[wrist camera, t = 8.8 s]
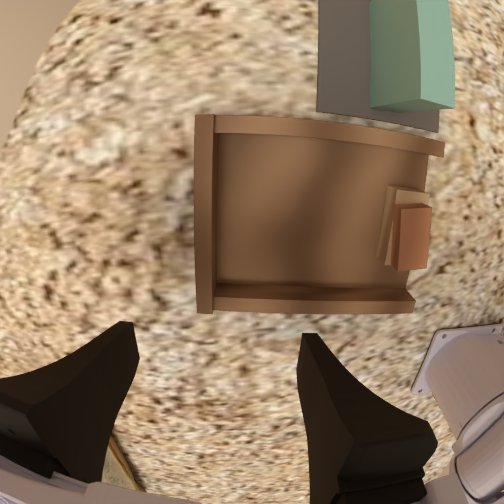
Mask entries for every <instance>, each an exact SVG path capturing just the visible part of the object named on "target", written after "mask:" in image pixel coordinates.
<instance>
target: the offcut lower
mask: <svg viewBox="0 0 504 504" xmlns="http://www.w3.org/2000/svg"><path fill="white" fill-rule="evenodd" d="M429 196H430V194H429V193H427V192H424V191H422V190H419V189H414V188H406V187H399V186H391V185H387V191H386V199H385V207H384V214H383V220H382V227H381V233H380V239H379V245H378V251H377V257H378V258H379V259H380V260H381V262H382V263H383V264H384V265H391V251H392V232H393V205H394V204H415V203H423V204H426V205H428V202H429Z"/></svg>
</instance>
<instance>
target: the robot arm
mask: <svg viewBox="0 0 504 504" xmlns="http://www.w3.org/2000/svg"><path fill="white" fill-rule="evenodd" d="M502 328H503V326H502V325H501V324H494V325H486V326H477V327H467V328H457V329H445V330H439V331H437V332H436V333H435V335H434V338H433V340H432V343H431V345H430V348H429V350H428V353H427V355H426V358H425V360H424V362H423V365H422V367H421V369H420V372H419V374H418V376H417V378H416V381H415V383H414V385H413V387H412V389H411V393H412V394H413V395H416V394H423V393H429V392H432V394H433V396H434V398H435V400H436V401H437V403H438V405H439V407H440V409H441V411H442V413H443V415H444V417H445V418H446V420H447V422H448V424H449V426H450V428H451V430H452V432H453V434H454V436H455V438H456V440H457V441H456V443H455V444H454V445H453V446H452V449H453V451H454V453H455V456H454V457H453V458H452V459H451V461H450V466H449V475H446V476H443V477H440V478H437V479H434V480H431V481H429V482H428V483H426V484H425V485H424V483H423V480H422V478H423V477H424V476H425V472H424V470H423V466H424V465H425V464H426V462H427V461H428V460H429V459H430V457H431V456H432V455H433V453H434V452H435V450H436V448H437V445H438V442H437V439H436V437H435V435H434V432H433V430H432V428H431V426H430V424H429V423H428V421H426V420H423V419H421V418H418V417H416V416H413V415H411V414H408V413H406V412H404V411H402V410H400V409H399V408H397V407H395V406H393V405H391V404H390V403H388V402H386V401H385V400H383V399H382V398H380V397H379V396H377V395H376V394H374V393H373V392H372V391H370V390H369V389H368V388H367V387H365V386H364V385H363V384H362V383H360V382H359V381H358V380H357V379H356V378H355V377H354V376H353V375H352V374H351V373H350V372H349V371H348V370H347V369H346V368H345V367H344V366H343V365H342V364H341V362H340V361H339V360H338V359H337V358H336V357H335V356H334V354H333V353H332V352H331V351H330V349H329V348H328V347H327V346H326V344H325V343H324V342H323V340H322V339H321V338H320V336H319V335H318V334H317V333H302V339H301V345H300V351H299V357H298V363H297V369H296V370H297V385H298V393H299V398H300V403H301V408H302V413H303V418H304V423H305V428H306V434H307V442H308V457H309V478H310V504H504V492H501V491H502V490H503V489H504V337H503V336H502V335H501V334H500V333H501V331H502ZM139 360H140V357H139V352H138V347H137V342H136V337H135V332H134V327H133V322H125V321H119V322H118V323H116V324H114V325H113V326H112V327H110V328H109V329H107V330H106V331H104V332H103V333H102V334H100V335H99V336H97V337H96V338H94V339H93V340H91V341H90V342H89V343H87V344H85V345H84V346H82V347H81V348H79V349H77V350H76V351H74V352H73V353H71V354H69V355H68V356H66V357H64V358H62V359H60V360H58V361H56V362H54V363H52V364H49V365H47V366H44V367H42V368H39V369H36V370H34V371H31V372H27V373H24V374H20V375H17V376H12V377H7V378H1V379H0V504H201V503H198V502H194V501H189V500H185V499H179V498H173V497H167V496H161V495H156V494H151V493H146V492H141V491H137V490H133V489H129V488H124V487H121V486H117V485H113V484H109V483H104V482H101V481H102V474H103V468H104V463H105V458H106V453H107V449H108V444H109V440H110V437H111V433H112V430H113V426H114V423H115V420H116V417H117V415H118V412H119V410H120V408H121V406H122V404H123V401H124V399H125V397H126V395H127V393H128V390H129V388H130V386H131V384H132V381H133V379H134V377H135V373H136V370H137V367H138V363H139Z"/></svg>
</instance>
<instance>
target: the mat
mask: <svg viewBox="0 0 504 504" xmlns="http://www.w3.org/2000/svg"><path fill="white" fill-rule="evenodd" d="M371 1H372V0H318V2H319V34H318V81H317V106H316V112H323V113H331V114H339V115H347V116H354V117H360V118H367V119H373V120H379V121H384V122H390V123H395V124H400V125H405V126H410V127H414V128H419V129H423V130H428V131H432V132H436V133H438V129H439V109H436V110H423V111H412V112H401V113H394V112H389V111H384V110H379V109H373V108H370V76H371V46H370V14H369V3H370V2H371Z"/></svg>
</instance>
